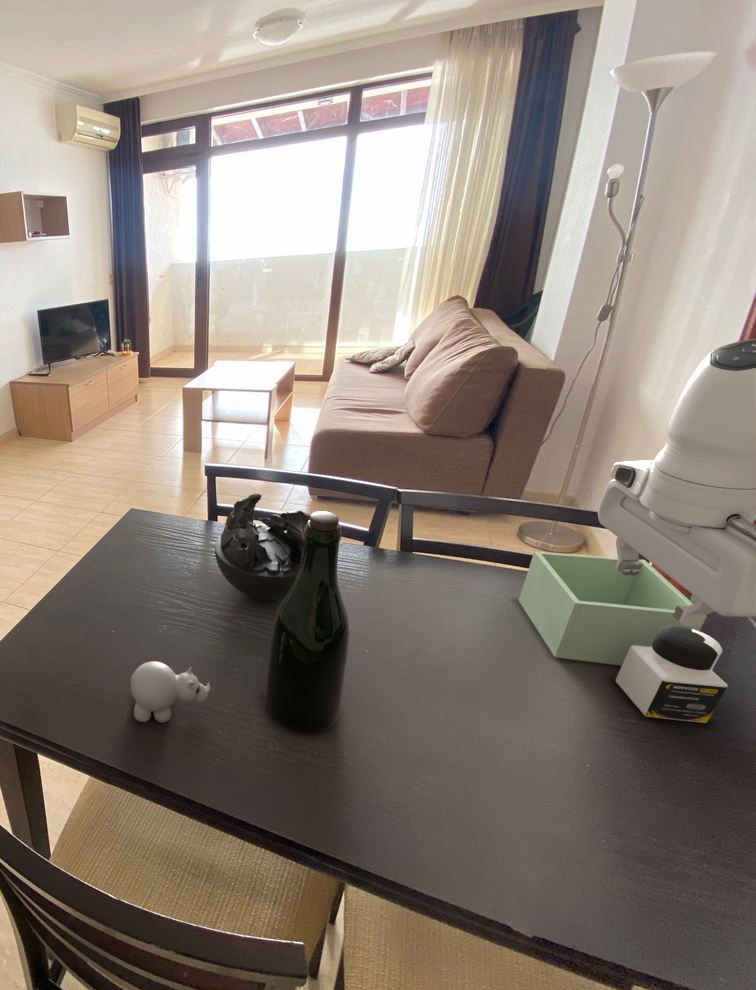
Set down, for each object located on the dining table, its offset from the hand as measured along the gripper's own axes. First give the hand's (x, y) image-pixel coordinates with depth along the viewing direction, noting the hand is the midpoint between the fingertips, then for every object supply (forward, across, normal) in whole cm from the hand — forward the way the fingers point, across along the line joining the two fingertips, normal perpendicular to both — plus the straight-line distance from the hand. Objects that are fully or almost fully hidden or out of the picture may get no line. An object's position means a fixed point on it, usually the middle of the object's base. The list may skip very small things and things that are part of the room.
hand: (653, 595), depth 65 cm
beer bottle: (+21, -1, +39) cm, 45 cm away
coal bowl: (+23, +30, +41) cm, 56 cm away
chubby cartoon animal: (+20, -3, +59) cm, 62 cm away
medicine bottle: (+24, +5, -11) cm, 26 cm away
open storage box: (+24, +20, -11) cm, 33 cm away
